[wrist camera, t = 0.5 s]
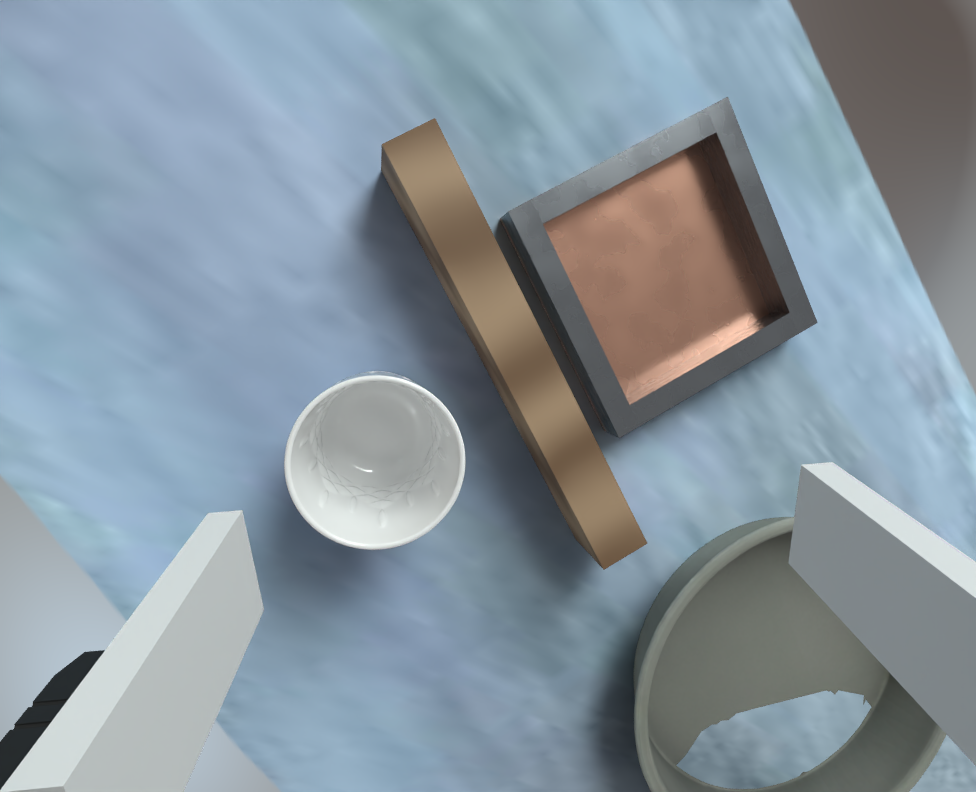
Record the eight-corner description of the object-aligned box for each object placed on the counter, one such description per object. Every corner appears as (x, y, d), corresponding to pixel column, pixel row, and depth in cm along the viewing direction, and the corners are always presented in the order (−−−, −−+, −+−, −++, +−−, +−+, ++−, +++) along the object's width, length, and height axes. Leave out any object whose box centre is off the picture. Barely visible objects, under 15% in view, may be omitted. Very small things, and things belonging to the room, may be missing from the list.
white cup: (402, 338, 35) (411, 343, 26) (464, 448, 37) (495, 493, 27) (284, 402, 35) (247, 432, 25) (353, 512, 36) (343, 582, 26)
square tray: (499, 218, 36) (508, 211, 33) (705, 111, 37) (727, 96, 35) (604, 431, 38) (619, 438, 36) (791, 322, 40) (817, 322, 38)
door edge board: (381, 170, 34) (381, 144, 29) (426, 147, 34) (435, 118, 29) (575, 539, 39) (603, 569, 34) (614, 516, 39) (647, 543, 34)
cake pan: (541, 722, 40) (560, 770, 36) (743, 428, 41) (787, 440, 36) (788, 859, 46) (831, 916, 41) (966, 599, 46) (1028, 629, 42)
